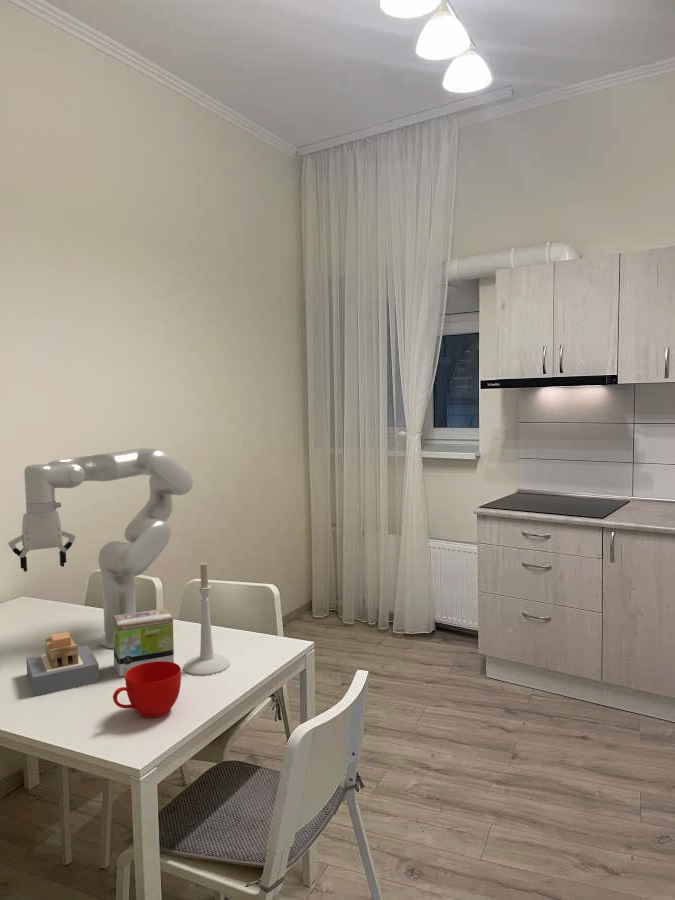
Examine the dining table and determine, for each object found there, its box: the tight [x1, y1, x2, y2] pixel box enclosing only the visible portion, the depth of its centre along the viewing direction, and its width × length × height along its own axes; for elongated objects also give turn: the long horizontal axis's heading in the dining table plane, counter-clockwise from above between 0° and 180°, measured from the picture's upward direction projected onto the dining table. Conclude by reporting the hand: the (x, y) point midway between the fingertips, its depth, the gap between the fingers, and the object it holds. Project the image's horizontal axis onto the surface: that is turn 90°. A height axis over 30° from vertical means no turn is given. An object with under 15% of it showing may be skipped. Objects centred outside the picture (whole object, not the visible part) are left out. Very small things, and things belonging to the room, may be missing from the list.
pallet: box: [44, 632, 79, 669], centre depth 177 cm, size 7×11×5 cm, turn 31°
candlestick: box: [183, 562, 231, 677], centre depth 183 cm, size 13×13×30 cm
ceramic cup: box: [112, 661, 182, 719], centre depth 155 cm, size 13×17×10 cm
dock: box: [26, 645, 100, 697], centre depth 177 cm, size 16×16×5 cm
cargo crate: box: [50, 631, 72, 649], centre depth 177 cm, size 4×5×3 cm
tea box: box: [113, 608, 175, 678], centre depth 184 cm, size 15×10×15 cm
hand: (43, 568), depth 185 cm, fingers open, 9 cm apart
